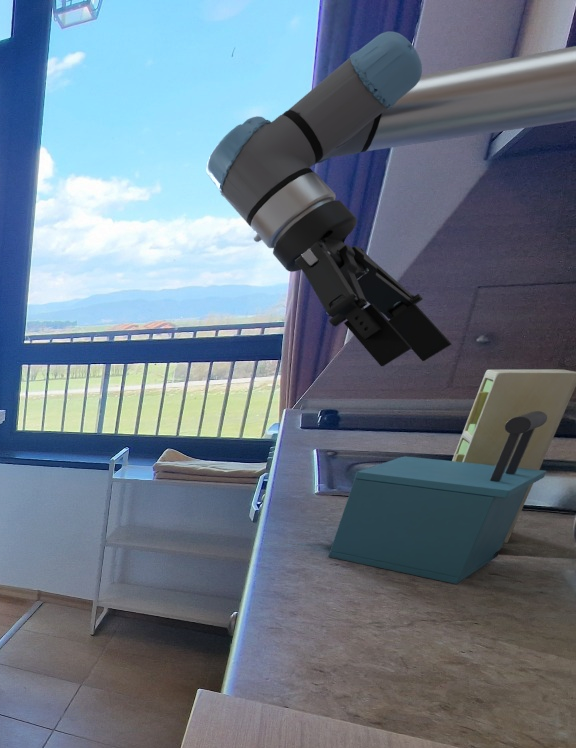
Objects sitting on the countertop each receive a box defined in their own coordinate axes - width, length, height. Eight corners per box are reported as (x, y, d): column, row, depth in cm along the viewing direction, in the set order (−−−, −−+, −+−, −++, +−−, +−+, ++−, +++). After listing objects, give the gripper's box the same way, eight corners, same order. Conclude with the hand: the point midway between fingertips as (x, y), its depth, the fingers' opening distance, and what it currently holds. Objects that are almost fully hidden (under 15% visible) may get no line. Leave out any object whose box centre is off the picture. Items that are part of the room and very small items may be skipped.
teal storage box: (497, 556, 76) (533, 477, 72) (456, 584, 69) (494, 497, 65) (375, 534, 85) (401, 462, 82) (327, 556, 78) (354, 478, 74)
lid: (543, 477, 72) (575, 409, 69) (506, 498, 64) (539, 422, 61) (401, 462, 81) (423, 401, 79) (354, 478, 74) (377, 412, 71)
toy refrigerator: (418, 526, 88) (479, 368, 80) (493, 534, 84) (566, 368, 76) (423, 540, 83) (490, 372, 74) (504, 550, 78) (584, 372, 70)
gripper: (313, 255, 88) (415, 372, 82) (225, 248, 76) (338, 384, 70) (375, 205, 81) (490, 327, 76) (290, 187, 69) (420, 332, 63)
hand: (417, 355), depth 73 cm, fingers open, 13 cm apart
